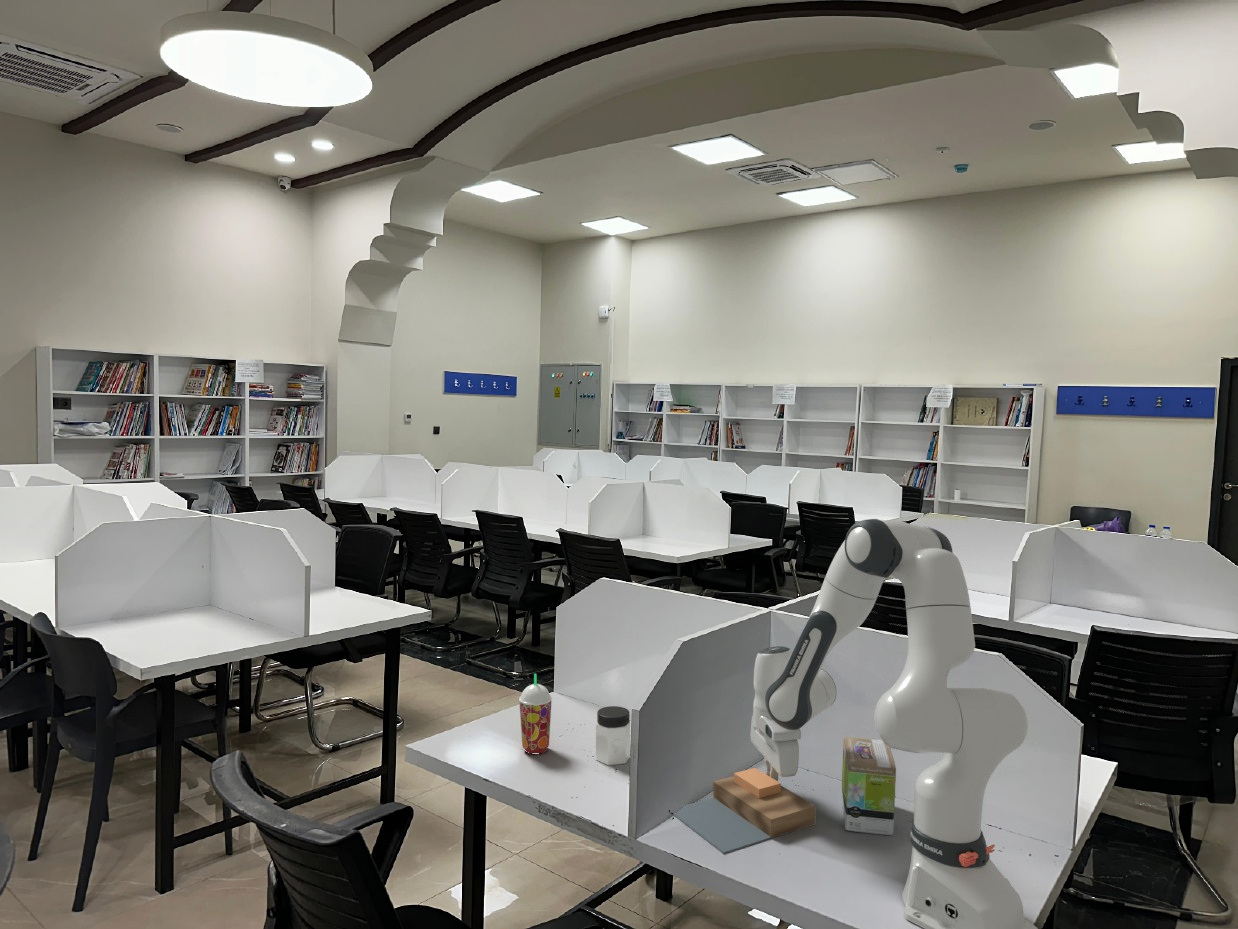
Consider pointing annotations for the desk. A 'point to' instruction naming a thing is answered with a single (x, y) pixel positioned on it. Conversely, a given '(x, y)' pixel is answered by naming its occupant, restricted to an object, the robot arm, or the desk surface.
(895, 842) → the desk surface
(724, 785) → the board
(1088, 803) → the desk surface
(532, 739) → the smoothie
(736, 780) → the orange rectangular block
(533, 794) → the desk surface
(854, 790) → the tea box
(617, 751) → the jar
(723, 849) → the mat
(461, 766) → the desk surface
